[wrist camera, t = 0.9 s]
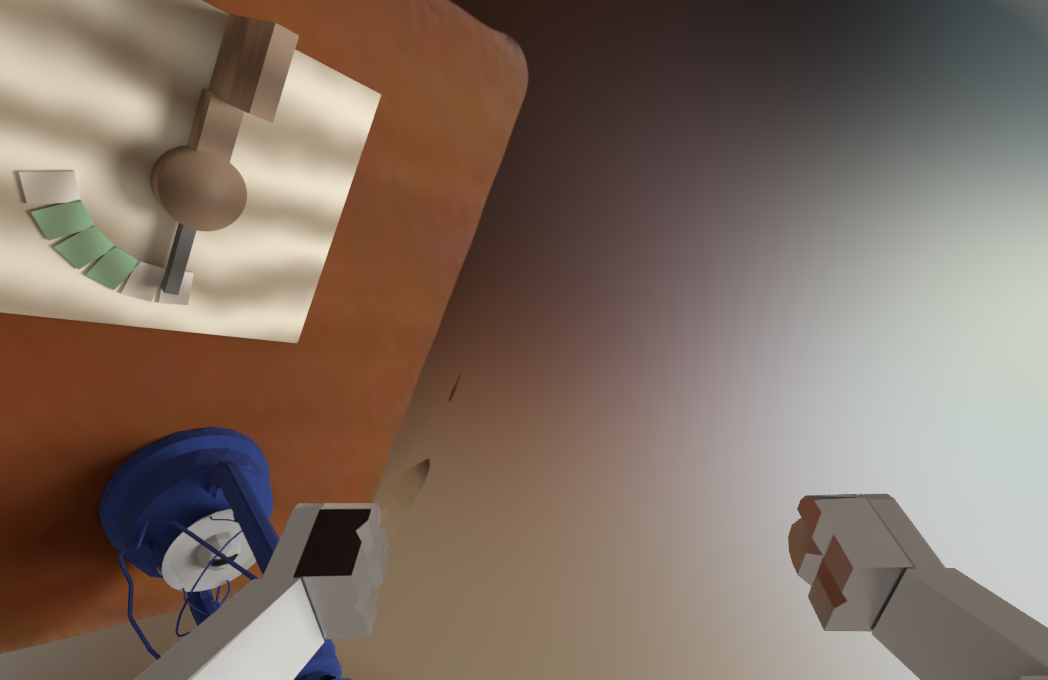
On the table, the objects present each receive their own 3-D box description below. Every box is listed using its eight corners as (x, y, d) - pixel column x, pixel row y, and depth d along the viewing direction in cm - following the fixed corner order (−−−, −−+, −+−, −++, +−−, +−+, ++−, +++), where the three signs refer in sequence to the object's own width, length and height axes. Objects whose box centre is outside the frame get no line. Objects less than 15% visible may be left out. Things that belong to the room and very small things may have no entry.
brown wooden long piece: (197, -3, 40) (240, 3, 34) (278, 40, 44) (328, 51, 39) (123, 279, 44) (151, 325, 39) (204, 292, 49) (240, 335, 43)
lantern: (249, 540, 66) (376, 768, 47) (88, 577, 54) (171, 897, 36) (280, 413, 61) (434, 611, 42) (110, 425, 50) (220, 702, 31)
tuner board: (7, -100, 33) (9, -102, 32) (376, 93, 53) (382, 95, 52) (-67, 299, 38) (-67, 306, 38) (293, 339, 58) (298, 344, 57)
